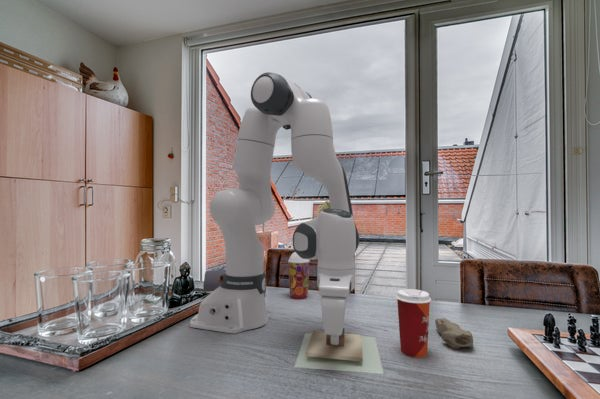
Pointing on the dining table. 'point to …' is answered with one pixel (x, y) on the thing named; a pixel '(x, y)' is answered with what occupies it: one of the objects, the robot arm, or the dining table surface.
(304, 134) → the robot arm
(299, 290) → the smoothie
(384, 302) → the dining table surface
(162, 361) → the dining table surface
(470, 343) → the sculpture
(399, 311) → the paper cup
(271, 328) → the dining table surface
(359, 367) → the mat
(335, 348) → the lid
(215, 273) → the bluetooth speaker
